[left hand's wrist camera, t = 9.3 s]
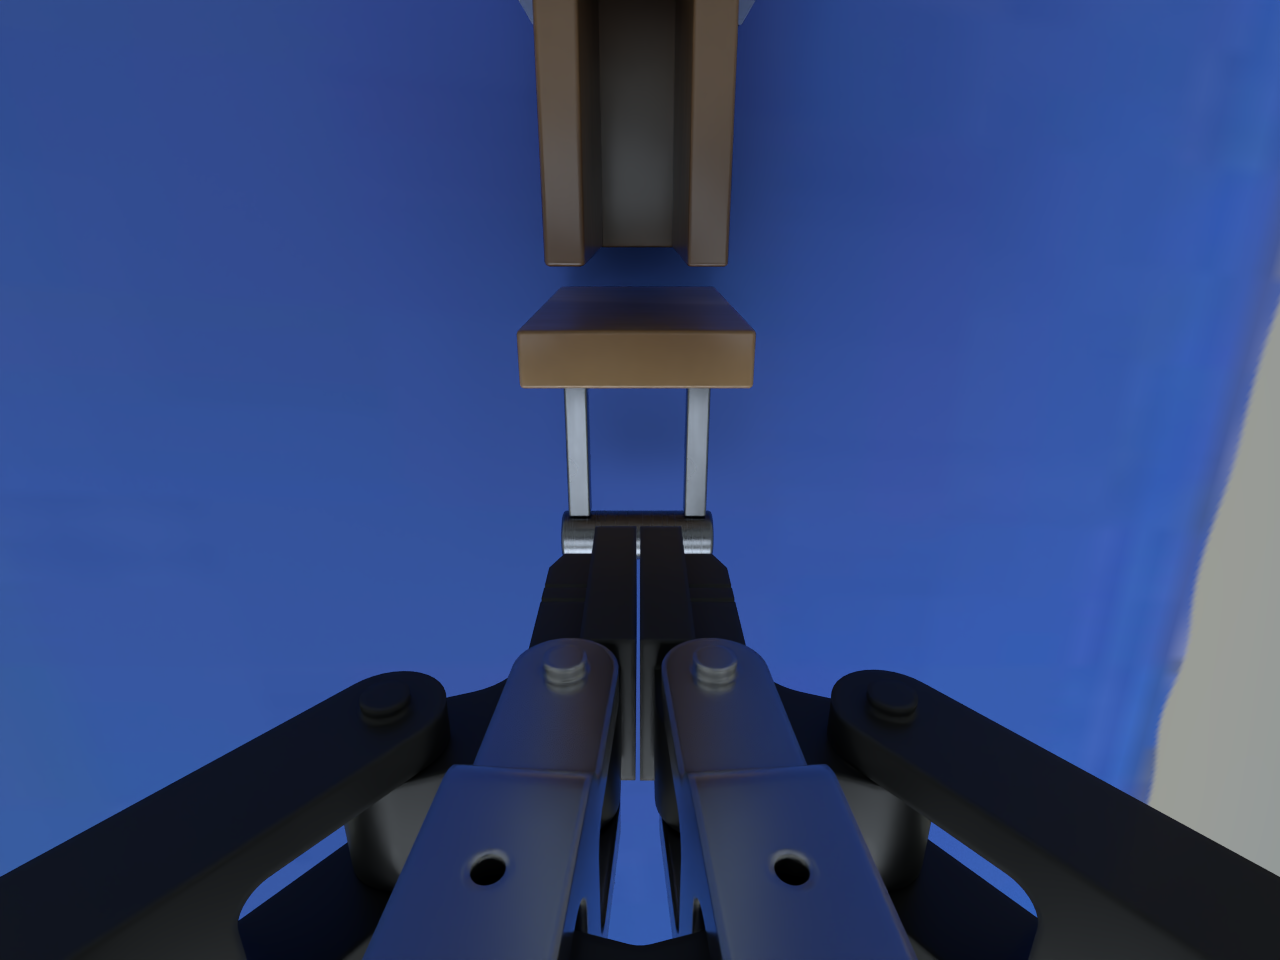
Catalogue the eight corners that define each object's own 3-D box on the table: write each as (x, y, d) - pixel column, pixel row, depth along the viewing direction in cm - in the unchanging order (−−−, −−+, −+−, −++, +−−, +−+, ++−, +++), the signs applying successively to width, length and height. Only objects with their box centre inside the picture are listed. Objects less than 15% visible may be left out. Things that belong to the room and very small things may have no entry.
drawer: (707, 496, 24) (738, 633, 17) (568, 496, 24) (535, 633, 17) (740, -393, 16) (832, -949, 8) (532, -393, 16) (433, -950, 8)
